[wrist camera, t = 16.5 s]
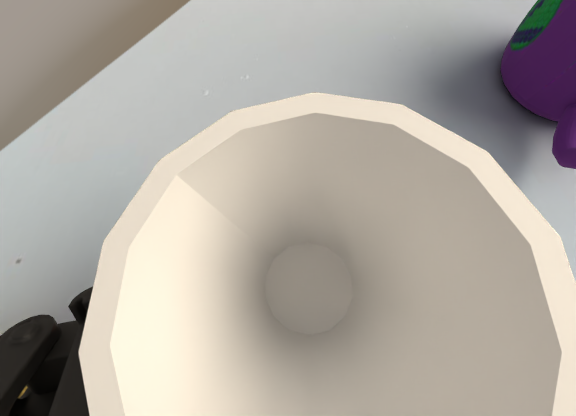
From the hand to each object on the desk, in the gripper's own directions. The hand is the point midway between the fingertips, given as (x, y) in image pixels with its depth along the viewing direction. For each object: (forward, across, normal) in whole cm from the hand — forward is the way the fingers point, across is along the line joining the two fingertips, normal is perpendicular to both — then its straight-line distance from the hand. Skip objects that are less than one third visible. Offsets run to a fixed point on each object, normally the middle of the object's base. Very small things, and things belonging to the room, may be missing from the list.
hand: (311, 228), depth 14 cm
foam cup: (+1, 0, -6) cm, 6 cm away
